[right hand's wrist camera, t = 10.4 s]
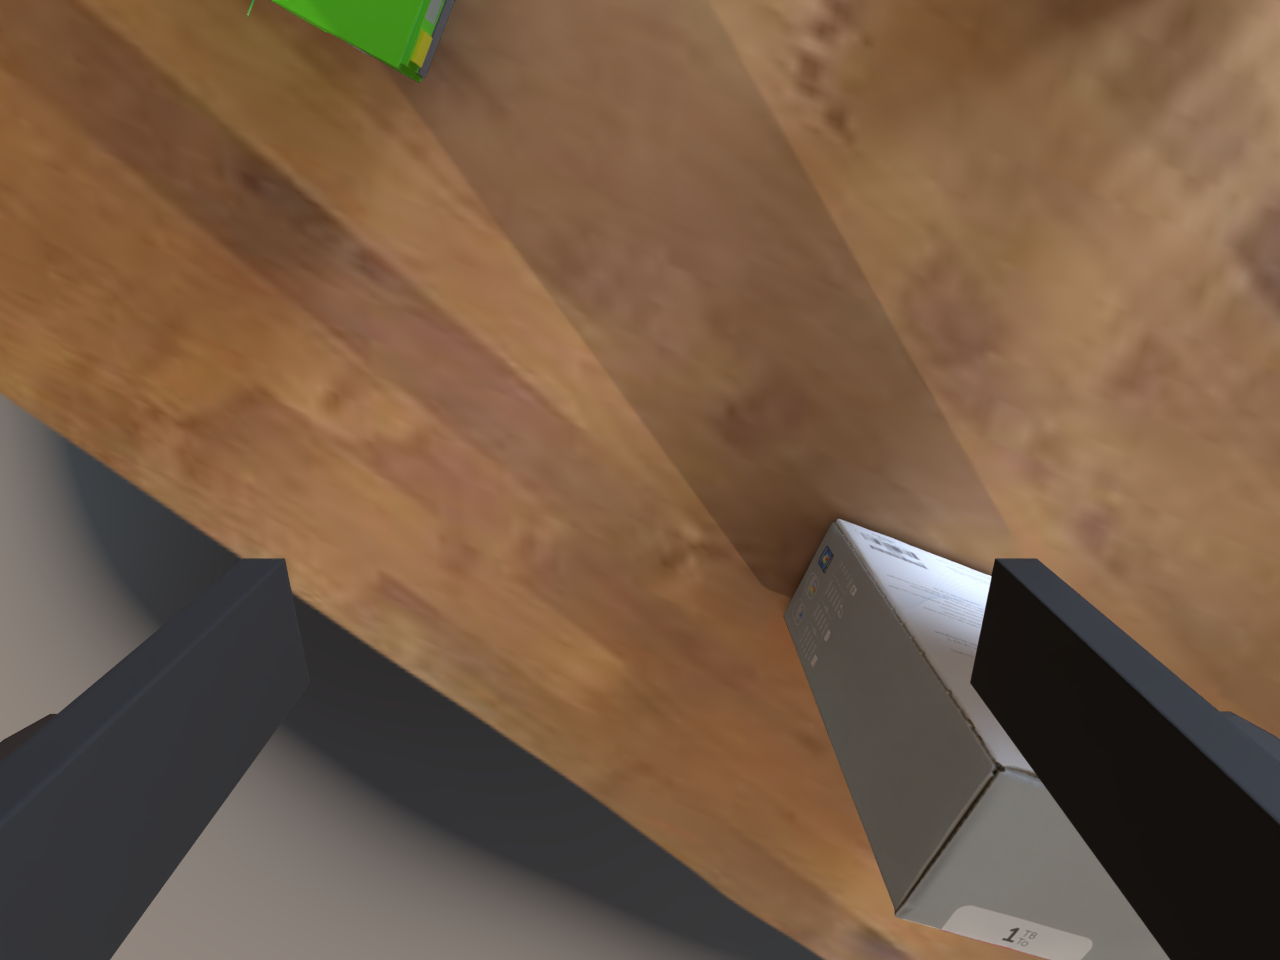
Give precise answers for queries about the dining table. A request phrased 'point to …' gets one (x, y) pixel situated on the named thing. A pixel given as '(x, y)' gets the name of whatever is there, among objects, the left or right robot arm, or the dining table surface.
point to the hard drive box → (944, 758)
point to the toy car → (381, 28)
